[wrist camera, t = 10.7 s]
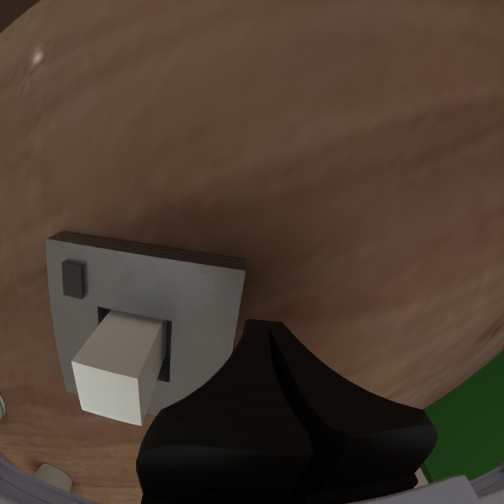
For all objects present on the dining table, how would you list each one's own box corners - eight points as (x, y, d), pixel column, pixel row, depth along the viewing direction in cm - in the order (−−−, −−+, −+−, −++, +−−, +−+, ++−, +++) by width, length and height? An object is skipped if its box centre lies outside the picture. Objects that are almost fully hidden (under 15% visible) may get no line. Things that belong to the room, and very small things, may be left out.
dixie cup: (47, 479, 31) (30, 519, 21) (26, 452, 28) (3, 494, 19) (87, 493, 31) (72, 537, 21) (67, 467, 29) (47, 516, 19)
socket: (221, 406, 25) (219, 429, 22) (77, 375, 23) (64, 394, 21) (245, 258, 21) (245, 273, 18) (63, 230, 20) (42, 240, 17)
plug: (165, 354, 23) (141, 426, 15) (119, 344, 22) (82, 409, 15) (167, 310, 22) (137, 378, 14) (117, 301, 21) (71, 361, 14)
